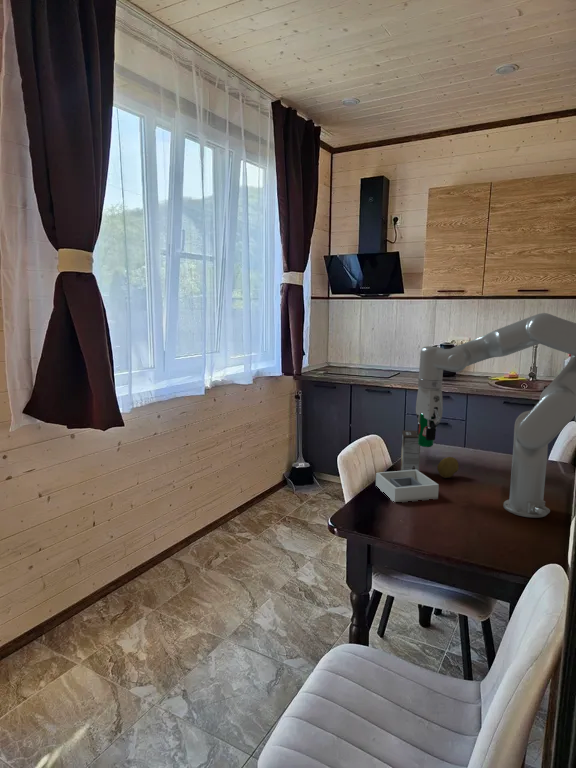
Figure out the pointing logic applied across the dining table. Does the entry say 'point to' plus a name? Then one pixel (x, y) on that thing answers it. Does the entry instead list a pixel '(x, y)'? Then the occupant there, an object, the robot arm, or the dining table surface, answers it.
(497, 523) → the dining table surface
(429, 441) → the soda can
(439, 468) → the potato
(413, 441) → the coffee box
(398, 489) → the walled box
